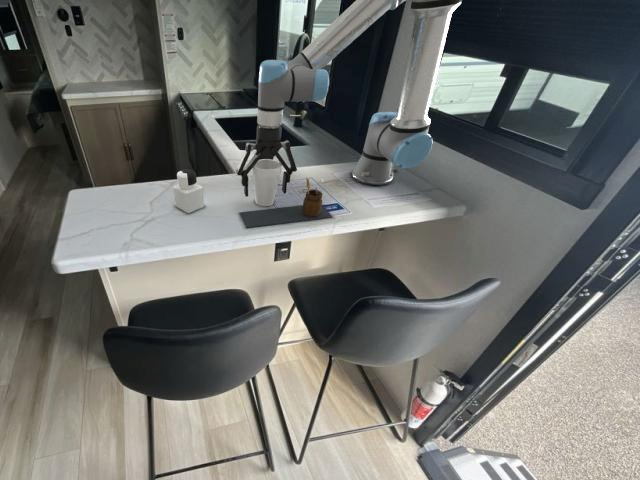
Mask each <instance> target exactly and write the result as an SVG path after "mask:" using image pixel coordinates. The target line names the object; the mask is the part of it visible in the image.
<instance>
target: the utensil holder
mask: <svg viewBox="0 0 640 480" xmlns="http://www.w3.org/2000/svg"><path fill="white" fill-rule="evenodd" d="M305 180H306V188H307V190H306V192H305V197H304V198H303V202H302V205H303V208H302V212H303V214H304V215H306V216H308V217H316V216H318V215H319V214H320V211H321V206H323V199H322V198H323V190H324V189H325V187H326V183H323V182H325V179H322V181H320V182H317V187H316V189H310V188H311V186H310V179H309V178H308V177H305ZM321 184H322V187H321V186H320V185H321ZM319 189H321V190H319Z"/></svg>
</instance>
